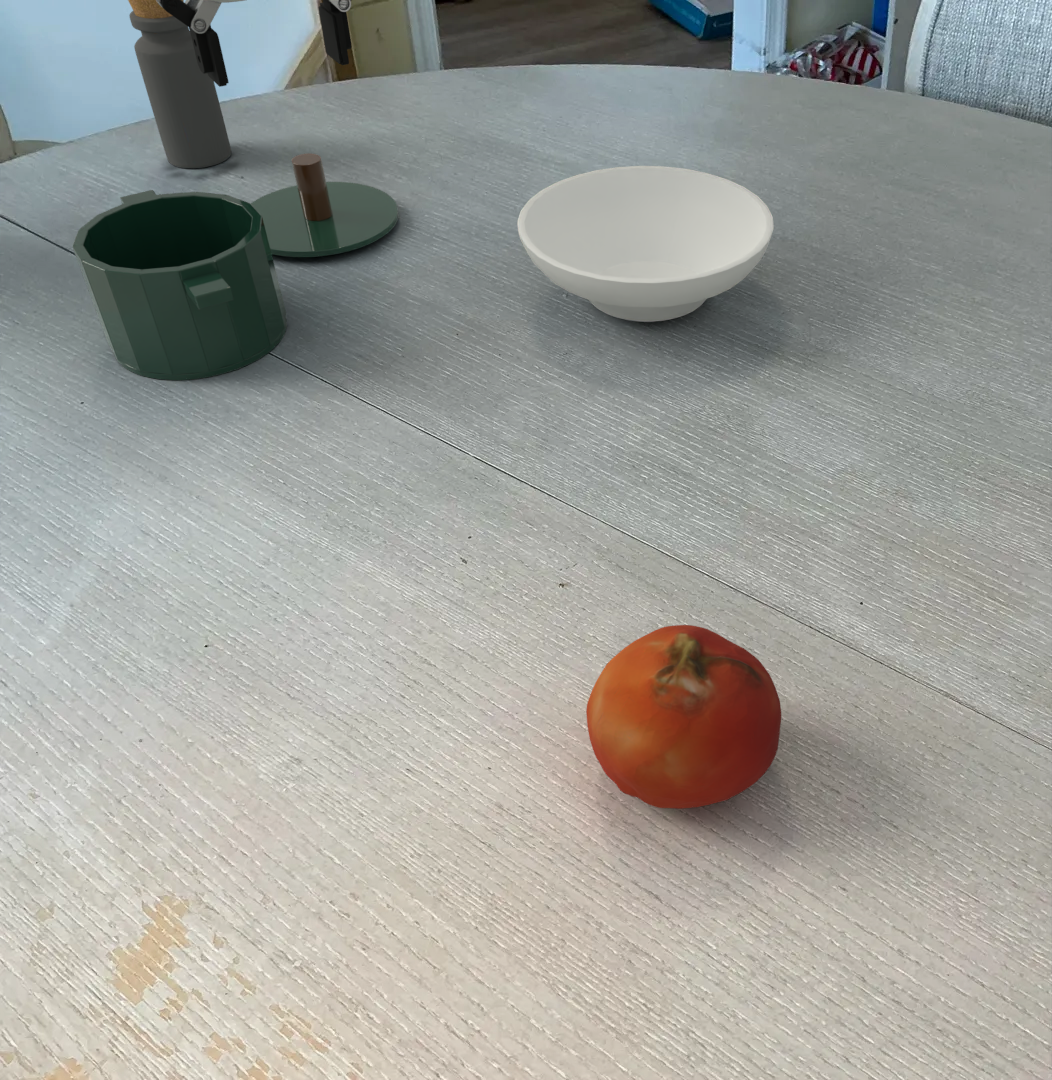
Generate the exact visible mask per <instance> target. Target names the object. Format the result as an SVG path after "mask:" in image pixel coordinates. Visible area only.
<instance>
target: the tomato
mask: <svg viewBox="0 0 1052 1080" xmlns="http://www.w3.org/2000/svg"><path fill="white" fill-rule="evenodd" d="M779 696H780V695H779V694H778V690H777V689H776V686H775V683H774V681H773V679H772V676H771V674H770V673H769V671H768V670H767V668H766V667H765V666H764V664H762V663H761V661H760V660H759V659H758V658H757V657H756V656H755V655H754V654H752V653H751V652H749V650H747V649H746V648H744V647H742V646H740V645H738V644H736V643H735V642H733V641H730V640H729V639H727V638H725V637H723V636H722V635H720V634H718V633H717V632H715V631H712V630H710V629H708V628H705V627H701V626H697V625H692V624H691V625H690V624H676V625H668V626H663V627H660V628H657V629H656V630H653V631H651V632H649V633H647V634H645V635H643V636H641V637H639V638H637V639H635V640H634V641H632V642H631V643H629V644H628V645H627V646H625V647H624V648H623V649H621V650H620V651H619V652H618V653H617V654H616V655H614V656H613V657H612V658H611V659H610V660H609V661H608V662H607V663H606V664H605V666H604V668H603V669H602V671H601V672H600V674H599V676H598V677H597V679H596V681H595V683H594V686H593V688H592V690H591V692H590V693H589V697H588V699H587V703H586V710H585V711H586V714H585V715H586V725H587V732H588V737H589V741H590V745H591V747H592V751H593V754H594V756H595V758H596V760H597V762H598V764H599V765H600V766H601V769H602V771H603V772H604V773H605V775H606V776H607V778H609V779H610V781H612V782H614V784H615V785H616V786H617V788H618V789H619V791H620V792H622V793H623V794H625V795H627V796H630V797H632V798H638V799H639V800H641V802H643V803H645V804H647V805H649V806H651V807H654V808H659V809H677V810H678V809H679V810H681V809H691V808H693V809H694V808H699V807H704V806H710V805H712V804H717V803H721V802H724V801H728V800H729V799H731V798H733V797H735V796H737V795H739V794H740V793H743V792H744V791H745V790H748V789H749V788H750V787H751V786H753V785H755V784H756V783H757V782H758V781H759V780H760V779H761V778H762V777H763V776H764V775H765V774H766V773H767V771H768V770H769V769H770V767H771V766H772V764H773V762H774V760H775V758H776V755H777V752H778V750H779V742H780V741H779V740H780V735H781V725H782V707H781V706H782V705H781V700H780V697H779Z"/></svg>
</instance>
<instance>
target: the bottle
mask: <svg viewBox="0 0 1052 1080" xmlns="http://www.w3.org/2000/svg"><path fill="white" fill-rule="evenodd" d="M127 1H128V3H129V5H130V7H131V9H132V11H131V12H130V13H129V20H130V24H131V26H132V28H134V29H135V30H137V31H140V33H141V36H140V37H139V38H138V39H137V40H136V42H135V43H134V46H133V47H134V51H135V52H134V53H135V56H136V59H137V63H138V66H139V69H140V74H141V76H142V79H143V83H144V86H145V89H146V94H147V97H148V100H149V104H150V106H151V110H152V112H153V113H152V114H153V117H154V120H155V124H156V127H157V130H158V134H159V137H160V141H161V143H162V146H163V150H164V153H165V156H166V160H167V161H168V163H169V164H170V165H172V166H174V167H177V168H181V169H202V168H209V167H213V166H216V165H219V164H221V163H223V162H225V161H226V160H227V159H229V158H230V157H231V155H232V148H231V143H230V139H229V135H228V132H227V127H226V123H225V119H224V116H223V111H222V107H221V104H220V101H219V96H218V92H217V89H216V85H215V84H216V83H215V82H214V81H213V80H212V79H211V78H210V77H209V76H208V74H207V73H205V74H204V73H202V72H201V70H200V68H199V66H198V63H197V59H196V55H195V51H194V46H193V42H192V38H191V34H190V30H189V27H188V26H187V25H185V24H184V23H182V22H181V21H179V20H178V19H177V18H175V17H174V16H172V15H171V14H169V13H168V12H167V11H166V10H164V9H163V8H162V7H161V6H160V5H159V4H158V2H157V1H156V0H127ZM181 1H183V2H184V3H185V1H184V0H181Z"/></svg>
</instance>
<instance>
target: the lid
mask: <svg viewBox="0 0 1052 1080" xmlns="http://www.w3.org/2000/svg"><path fill="white" fill-rule="evenodd" d="M290 162H291V166H292V171H293V175H294V179H295V183H296V185H292V186H288V187H284V188H281V189H277V190H274V191H272V192H269V193H267V194H265V195H262V196H260V197H259V198H257V199H255V200H254V201H252V202H250V204H251V205H252V206H253V207H254V208H255V209H256V210H257V211H258V212H259V213H260V214H261V215H262V218H263V222H264V226H265V230H266V234H267V238H268V242H269V246H270V250H271V254H272V255H274V256H281V257H289V258H315V257H317V258H319V257H326V256H327V257H328V256H332V255H338V254H343V253H346V252H351V251H354V250H357V249H361V248H363V247H366V246H368V245H371V244H372V243H374V242H377V241H379V240H381V239H382V238H383V237H384V236H386V235H387V234H389V233H390V232H391V231H392V229H393V228H394V227H395V226H396V224H397V223H398V220H399V213H400V212H399V208H398V204H397V202H396V200H395V199H394V198H393V197H392V196H391V195H389V194H388V193H387V192H385V191H383V190H381V189H379V188H377V187H374V186H369V185H367V184H362V183H356V182H349V181H348V182H347V181H327V179H326V174H325V169H324V165H323V160H322V157H321V156H320V155H319V154H317V153H312V152H311V153H309V152H308V153H300V154H298V155H295V156H293V157H292V158H291V161H290Z"/></svg>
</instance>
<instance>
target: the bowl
mask: <svg viewBox="0 0 1052 1080" xmlns="http://www.w3.org/2000/svg"><path fill="white" fill-rule="evenodd" d="M516 224H517V230H518V232H517V233H518V236H519V239H520V242H521V244H522V246H523V248H524V249H525V251H526V253H527V255H528V256H529V258H530V260H531V262H532V264H534V266H535V267H536V268H538V269H539V271H540V272H541V273H542V274H543V275H544V276H546V277H547V279H549V280H550V281H551V282H552V283H553V284H554V285H556V286H557V287H559V288H561V289H563V290H564V291H565V292H568V293H570V294H571V295H575V296H577V297H580V298H582V299H585V300H588V301H589V302H590V304H592V306H593V307H595V308H596V309H597V310H599V311H600V312H602V313H604V314H606V315H608V316H611V317H613V318H617V319H622V320H626V321H633V322H644V323H645V322H647V323H651V322H662V321H668V320H674V319H677V318H680V317H683V316H686V315H688V314H690V313H692V312H694V311H696V310H697V309H699V308H701V306H702V305H703V304H704V303H705V301H707V300H708V299H709V298H713V297H716V296H718V295H720V294H723V293H724V292H727V291H729V290H731V289H733V288H734V287H735V286H736V285H738V284H739V283H740V282H742V281H743V280H744V279H746V277H747V276H748V275H749V274H750V273H751V272H752V271H753V270H754V269H755V267H756V266H757V265H758V264H759V263H760V262H761V260H762V259H763V258H764V255H765V253H766V252H767V250H768V247H769V244H770V242H771V239H772V236H773V233H774V227H775V226H774V217H773V215H772V212H771V210H770V208H769V206H768V205H767V204H766V203H765V202H764V201H763V200H762V199H761V198H760V197H759V195H757V194H756V193H754V192H752V191H751V190H749V189H748V188H746V187H745V186H743V185H740V184H738V183H736V182H734V181H732V180H730V179H728V178H724V177H721V176H718V175H715V174H713V173H712V174H711V173H708V172H704V171H699V170H693V169H689V168H682V167H673V166H663V165H631V166H616V167H609V168H601V169H595V170H592V171H586V172H584V173H579V174H576V175H573V176H570V177H567V178H564V179H561V180H559V181H556V182H554V183H552V184H551V185H549V186H546V187H545V188H543V189H541V190H540V191H538V192H536V194H535V195H533V196H532V197H530V198H529V199H528V201H526V203H525V204H524V206H523V207H522V209H521V210H520V212H519V215H518V218H517V221H516Z"/></svg>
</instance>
